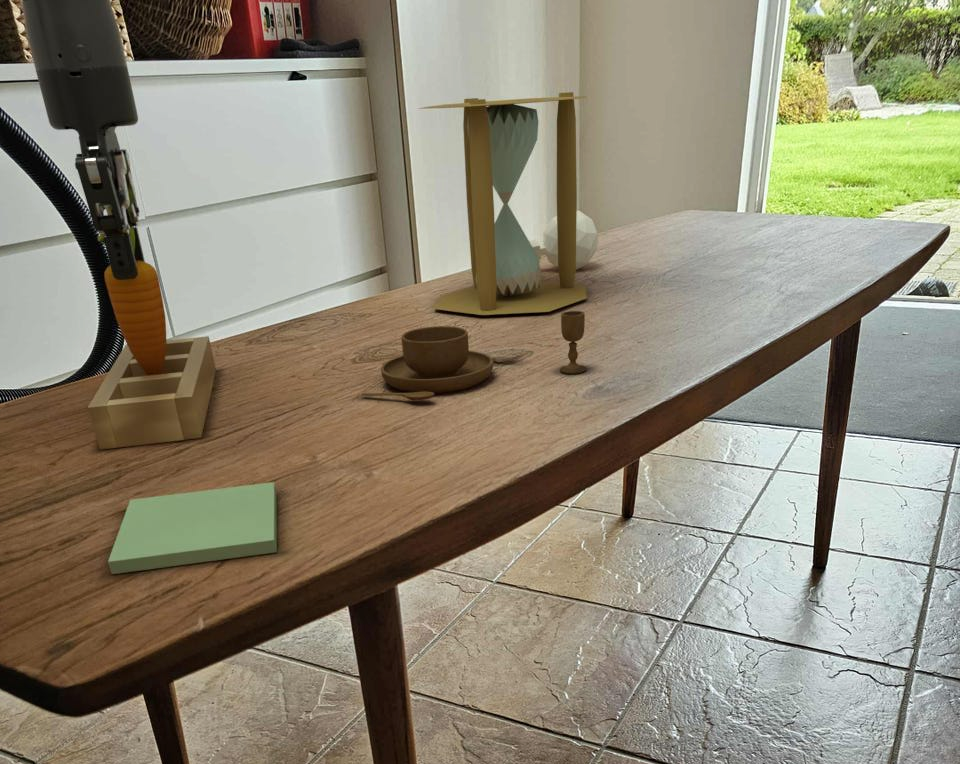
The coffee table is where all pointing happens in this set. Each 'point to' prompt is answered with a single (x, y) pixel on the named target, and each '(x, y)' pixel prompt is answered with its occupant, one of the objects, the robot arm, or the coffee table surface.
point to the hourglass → (502, 244)
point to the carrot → (140, 313)
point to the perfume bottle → (584, 241)
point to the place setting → (456, 360)
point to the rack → (155, 397)
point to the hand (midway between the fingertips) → (130, 272)
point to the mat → (196, 528)
